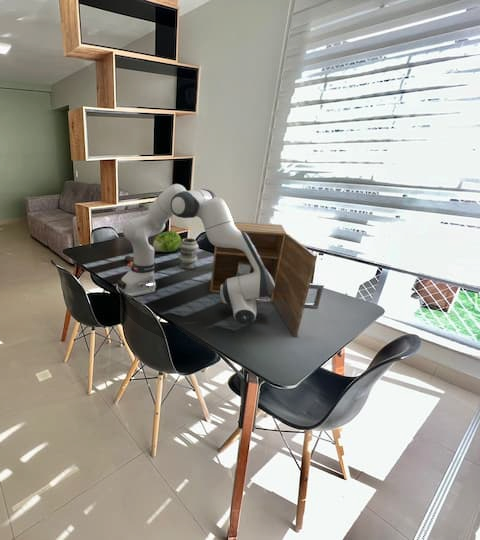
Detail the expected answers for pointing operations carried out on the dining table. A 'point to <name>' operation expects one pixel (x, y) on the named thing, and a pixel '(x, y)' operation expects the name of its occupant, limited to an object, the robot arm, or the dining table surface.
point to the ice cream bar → (129, 259)
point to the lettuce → (167, 242)
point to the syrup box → (243, 268)
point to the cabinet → (226, 259)
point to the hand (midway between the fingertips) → (243, 286)
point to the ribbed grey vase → (188, 253)
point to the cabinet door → (295, 283)
